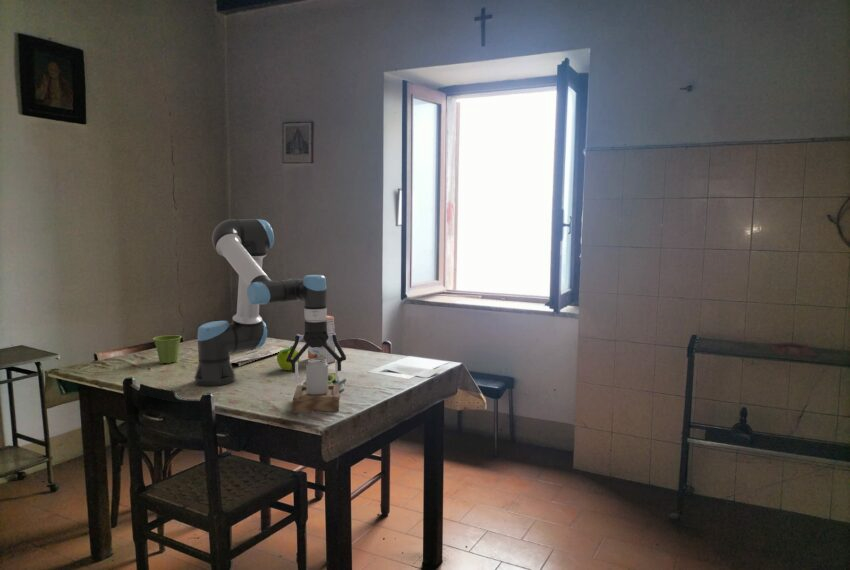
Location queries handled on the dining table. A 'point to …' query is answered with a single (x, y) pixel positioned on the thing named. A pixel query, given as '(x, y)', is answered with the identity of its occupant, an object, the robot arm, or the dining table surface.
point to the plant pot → (167, 348)
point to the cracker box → (322, 351)
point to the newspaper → (256, 355)
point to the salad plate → (332, 381)
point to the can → (317, 377)
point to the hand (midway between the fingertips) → (316, 381)
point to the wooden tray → (316, 400)
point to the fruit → (283, 356)
